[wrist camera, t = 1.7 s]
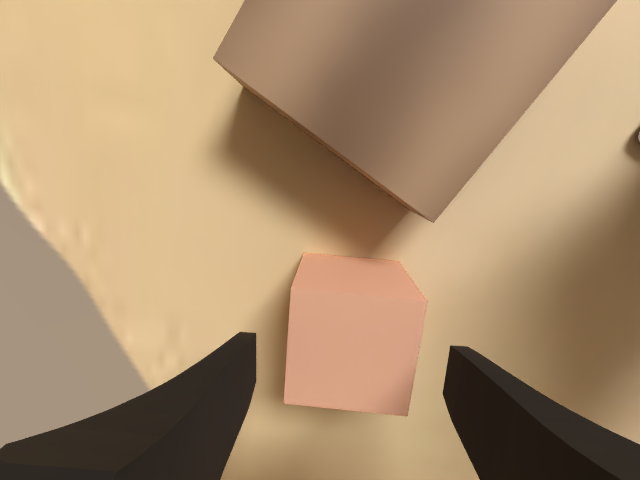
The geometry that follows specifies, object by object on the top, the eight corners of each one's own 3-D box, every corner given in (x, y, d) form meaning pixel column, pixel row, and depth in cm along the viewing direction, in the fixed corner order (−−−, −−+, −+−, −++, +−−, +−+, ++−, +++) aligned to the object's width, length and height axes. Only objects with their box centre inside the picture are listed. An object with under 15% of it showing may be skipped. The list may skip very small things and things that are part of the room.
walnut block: (553, 26, 13) (643, -32, 9) (408, 209, 15) (433, 222, 12) (373, -130, 12) (392, -267, 8) (245, 88, 14) (212, 58, 11)
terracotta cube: (398, 260, 16) (427, 301, 11) (386, 345, 17) (407, 416, 12) (303, 252, 16) (290, 288, 11) (298, 337, 17) (283, 403, 12)
